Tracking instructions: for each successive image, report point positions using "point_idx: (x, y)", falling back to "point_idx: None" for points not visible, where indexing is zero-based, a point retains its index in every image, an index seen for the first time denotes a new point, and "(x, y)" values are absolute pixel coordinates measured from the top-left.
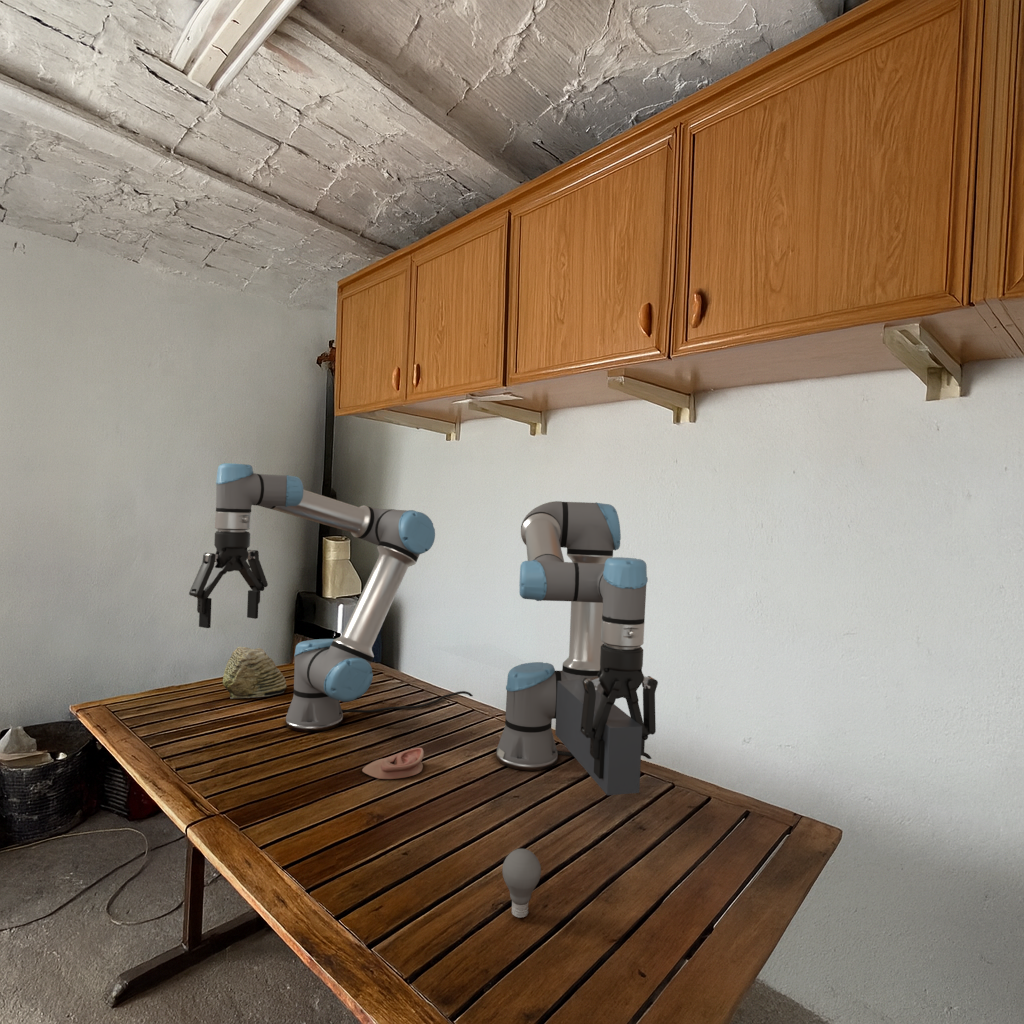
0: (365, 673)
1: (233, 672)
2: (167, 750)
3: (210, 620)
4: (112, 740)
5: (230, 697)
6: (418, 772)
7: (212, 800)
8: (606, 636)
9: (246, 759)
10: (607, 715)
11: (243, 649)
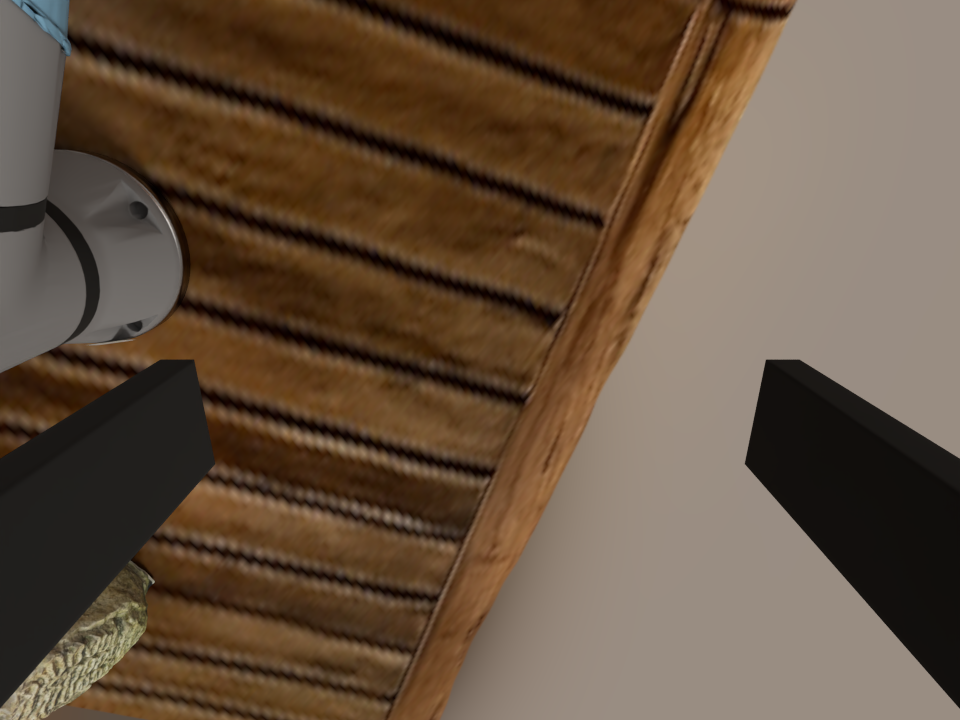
0: None
1: (107, 632)
2: (484, 431)
3: (808, 389)
4: (506, 571)
5: (152, 583)
6: None
7: (655, 79)
8: None
9: (419, 212)
10: None
11: (6, 703)
